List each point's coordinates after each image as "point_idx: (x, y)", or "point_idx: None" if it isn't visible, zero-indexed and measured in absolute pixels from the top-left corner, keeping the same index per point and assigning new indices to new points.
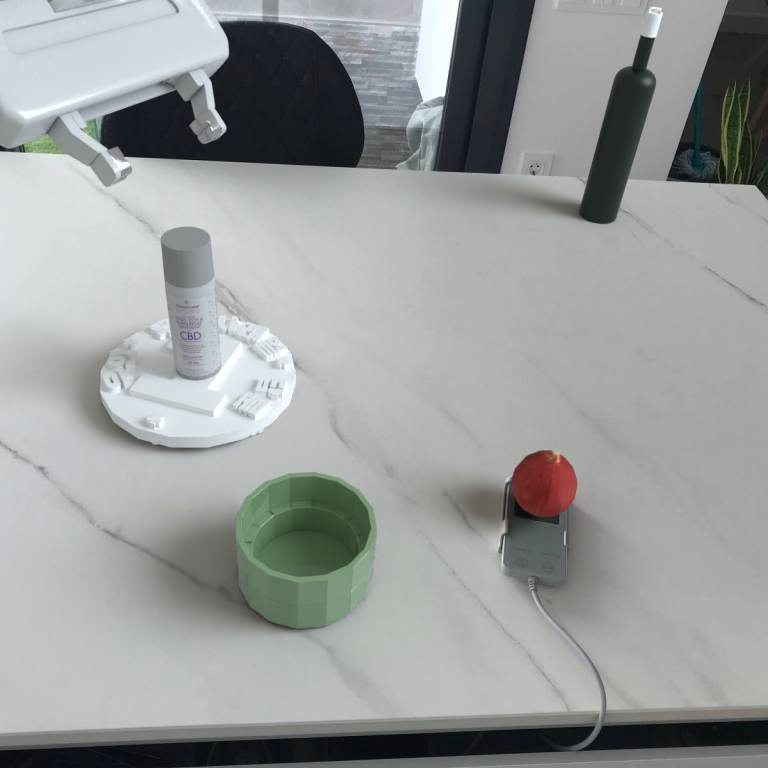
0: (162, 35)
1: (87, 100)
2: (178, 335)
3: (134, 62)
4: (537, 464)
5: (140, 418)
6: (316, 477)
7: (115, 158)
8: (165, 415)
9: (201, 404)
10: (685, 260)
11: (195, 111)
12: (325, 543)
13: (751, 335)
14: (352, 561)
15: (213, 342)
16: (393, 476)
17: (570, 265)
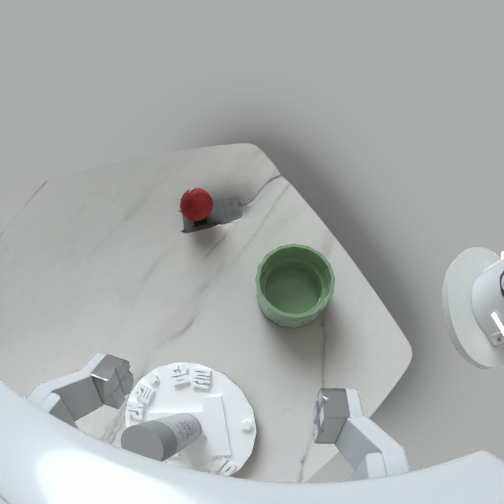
0: (13, 465)
1: (355, 480)
2: (191, 436)
3: (140, 497)
4: (197, 198)
5: (247, 435)
6: (261, 291)
7: (343, 403)
8: (236, 423)
9: (218, 406)
10: (20, 213)
11: (88, 408)
12: (271, 293)
13: (65, 177)
14: (304, 248)
15: (178, 415)
16: (207, 284)
17: (23, 258)
